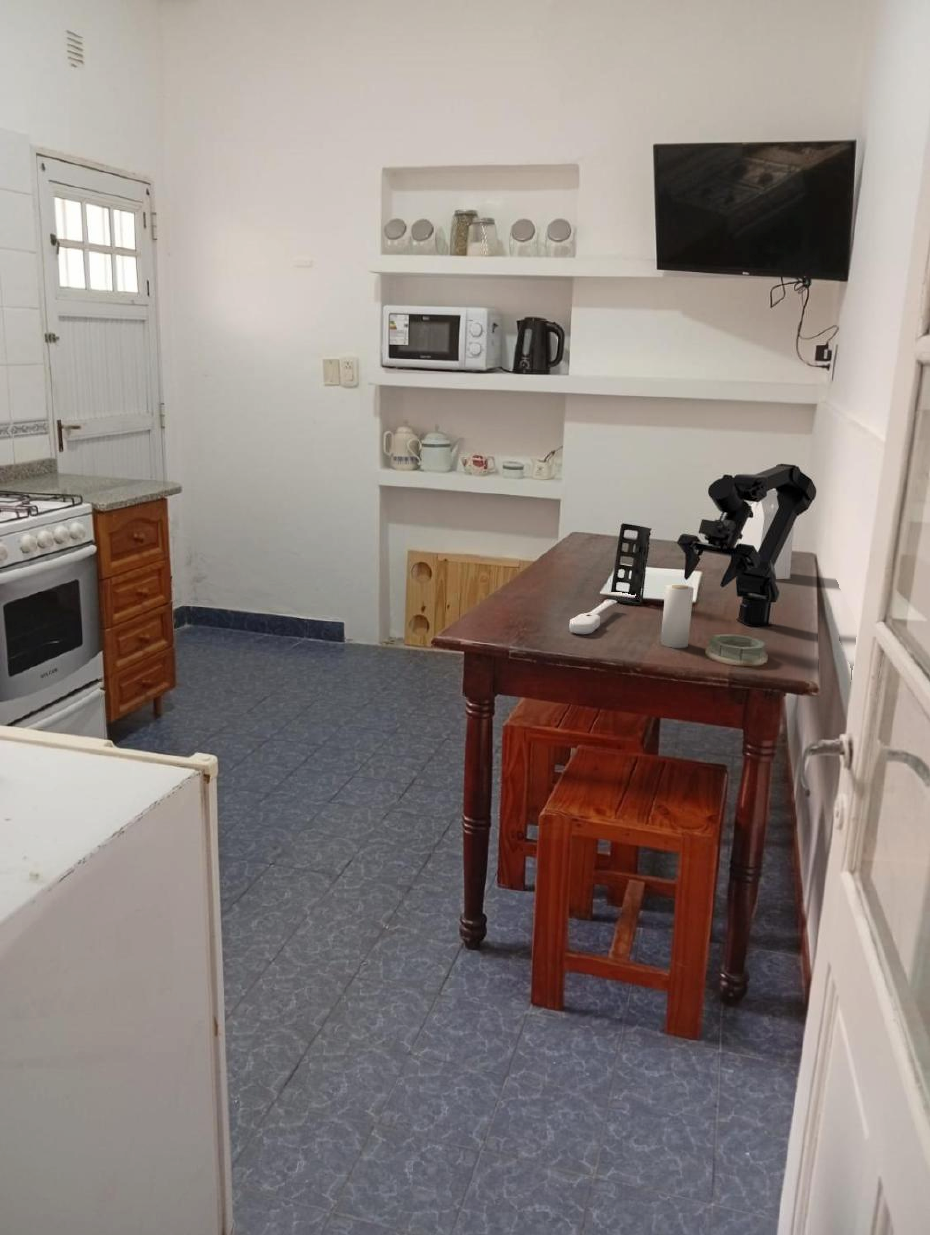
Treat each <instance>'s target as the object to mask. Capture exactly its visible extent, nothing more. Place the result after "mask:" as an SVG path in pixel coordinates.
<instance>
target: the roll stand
mask: <svg viewBox="0 0 930 1235" xmlns="http://www.w3.org/2000/svg"><path fill="white" fill-rule="evenodd" d="M704 652H705V653H704V654H705V656H706V657H707V658H708V659H710V660H713V661H715V662H718V663H721V664H725V665H732V666H739V667H740V666H741V667H756V666H761V665H765V664H767V662H768V660H769V659H768V658H769V656H768V654H767V652H766V642H765V641H763V640H760V639H758V638H756V637H753V636H748V635H742V634H733V633H732V634H731V633H728V634H727V633H726V634H715V635H713V636H712V637H711V638H710V639H709V645H708V646H706V648H705V651H704ZM764 663H765V664H764Z"/></svg>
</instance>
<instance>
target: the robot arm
mask: <svg viewBox="0 0 930 1235" xmlns="http://www.w3.org/2000/svg"><path fill="white" fill-rule="evenodd" d="M772 489H776V491H777V493H778V494H777V501H778V506H779V507H778V510H777V512H776V514H775V516H774V518H773V521H772V523H771V525H770V527H769V529H768V531H767V533H766V535H765V538H764V540H763V542H762V544H761V546H760V548H759V550H758V552H757V550H756V549H755V547H754V546H753V545H747V544H741V543H739V542H738V541H739V539H742V537H743V535H742V533H741V532H742V530H743V527H744V525H745V523H746V521H747V519H748V518H753V512H752V507H751V505H749V503H748V502H753V503H754V502H759V501H761V500H762V499H764V498H765V497H766V496H767V491H769V490H772ZM707 493H708V496H709V498H710V499H711V500H712V502H713V504H714V506H716V508H717V510H718V511H719V512H721V514H720V516H719V518H718V519H714V520H711V519H703V518H702V519H701V522H700V524H699V528H698V529H699V530H698V534H701V535H704V537H703V539H705V540H706V541H707V542H702V541H701V540H700V539H699V537H698V535H694V534H688V533H682V534H681V535H679V536H678V539H677V541H676V543H677V545H678V547H680V549H681V550H682V551H683V553H684V554H685V556H684V557H685V558H684V559H685V564H684V576H683V578H684V579H685V581H688V580H689V578H690V577H691V576H692V574H693V573H694V571H695V569H696V568H697V567H698V564H699V562H700V561H701V557H700V556H702V555H703V552H706V553H711V554H715V555H721V556H722V555H723V556H727V557H730V563H729V564H728V566H727V568H726V570H725V572H724V575H723V576H722V578H721V581H720V587H721V588H724V587H726V586H727V585H728V584H730V583H731V582H733V580H735V586H736V596H737V597H739V598H740V597H741V603H740V604H739V611H738V612H739V613H738V617H735V618H736V621H738V622H741V623H742V624H745V625H746V626H747V627H760V626H761V627H764V626H766V627H767V626H773V622H771V621H770V616H771V610H772V609H771V607H772V603H777V601H778V599H779V597H780V596H779V595H780V590H779V588H778V585H777V583H776V580H777V579H776V574H775V568H774V565H775V563H776V561H777V559H778V556H779V554H780V552H781V550H782V548H783V546H784V543H785V541H786V539H787V537H788V535H789V533H790V531H791V528H792V526H793V524H794V525H795V522H796V520H797V518H798V517H799V516H800V515H802V514H803V513H804V512H807V510H809V508H810V507H811V505H812V503H813V501H814V500H815V498H816V496H817V487H816V485H815V484H814V481H813V480H812V478H810V477H809V476H808V475H807V474H805V473H804V472H803V471H802V470H801V469H800V467H799V466H797V465H796V464H788V463H780V464H779V463H778V464H777V465H776V466H774V467H771V468H769V469H766V470H764V471H760V472H759V473H754V474H748V473H746V474H745V473H743V474H736V475H734V476H733V475H732V474H723V476H722V477H721V478H719V479H716V480H715V481H713V482H712V483H711V484H710V485H709V486H708V489H707ZM737 542H738V543H737Z"/></svg>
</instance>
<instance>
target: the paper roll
mask: <svg viewBox="0 0 930 1235" xmlns="http://www.w3.org/2000/svg"><path fill="white" fill-rule="evenodd" d="M693 597H694V587H692V586H689V585H685V584H667V585H666V586H665V592H664V603H663V612H662V613H663V614H662V623H661V633H660V634H661V635H660V642H659V643H660V645H661V644H662V646H663V645H664V647H667V648H671V647H672V648H671V649H685V648H687V647H689V636H690V627H691V619H692V618H691V617H692V608H693V601H694V600H693Z"/></svg>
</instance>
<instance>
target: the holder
mask: <svg viewBox="0 0 930 1235" xmlns="http://www.w3.org/2000/svg"><path fill="white" fill-rule="evenodd" d="M626 531H632V532H633V531H634V532H636V533H637V535H636V539H632V538H626V537H625V532H626ZM651 531H652V528H651V527H646V526H642V525H637V524H630V523H621V524H620V529H619V535H618V542H617V549H616V553H615V554H616V556H615V562H614V567H613V568H614V570H613V574H612V581H611V588H610V589H611V590H610V593H611V592H622V593H628V594H631V595H635V594H636V596H635V598H634V599H629V598H627V597H620V596H616V597H614V596H610V595H609V599H610V600H615V601H617V603H618V602H619V603H622V604H626V605H628V606H629V605H630V606H636V607H642V606H643V603H644V602H643V601H644V592H645V591H644V590H645V583H646V582H645V580H646V572H647V570H646V569H647V563H648V558H649V550H650V546H649V545H650V540H651V539H650V538H651V535H652V533H651ZM624 544H628V547H627V551H624V550H623V545H624ZM634 546H635V547H634ZM622 557H626V558H632V559H633V560H632V565H628V564H623V563H621V558H622ZM620 570H623V572H624V573H623V577H619V571H620ZM630 572H631V574H630ZM618 583H621V584H628V585H629V586H628V591H624V590H623V591H622V590H618V589H617V584H618ZM636 600H639V601H636Z"/></svg>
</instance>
